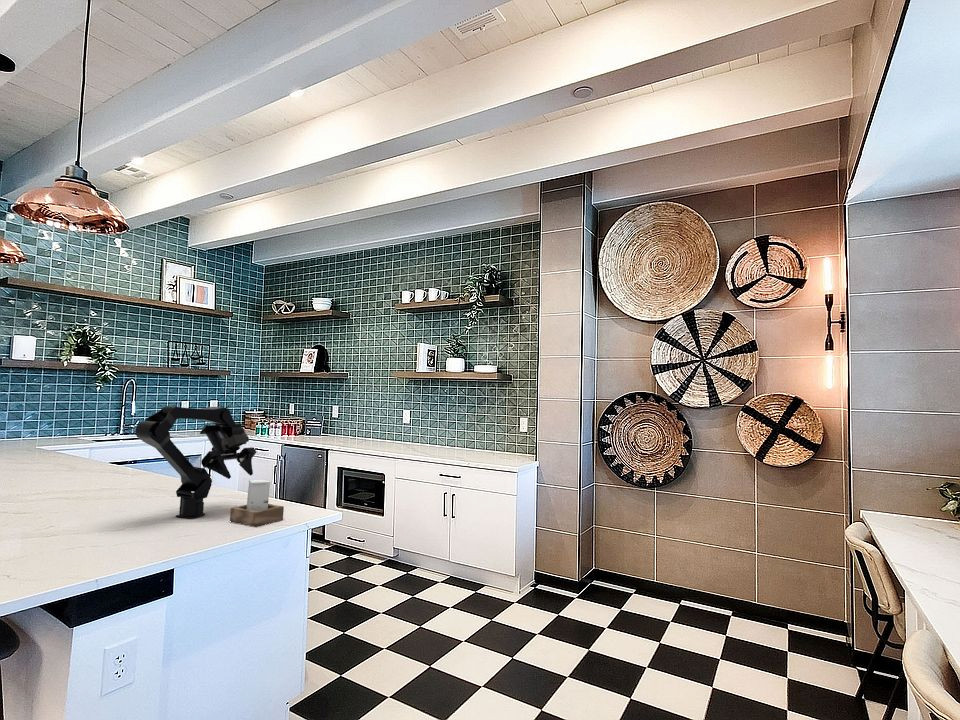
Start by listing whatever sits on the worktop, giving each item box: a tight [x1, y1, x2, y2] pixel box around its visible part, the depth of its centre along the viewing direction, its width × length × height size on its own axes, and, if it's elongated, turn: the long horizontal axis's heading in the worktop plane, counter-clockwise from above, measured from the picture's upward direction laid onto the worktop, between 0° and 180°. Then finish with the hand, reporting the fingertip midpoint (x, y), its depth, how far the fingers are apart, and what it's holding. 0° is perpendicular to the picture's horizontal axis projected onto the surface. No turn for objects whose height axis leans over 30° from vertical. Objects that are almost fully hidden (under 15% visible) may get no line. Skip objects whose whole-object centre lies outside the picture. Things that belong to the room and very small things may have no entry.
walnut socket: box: [229, 503, 285, 528], centre depth 179 cm, size 12×12×4 cm
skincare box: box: [246, 479, 271, 511], centre depth 179 cm, size 6×4×12 cm
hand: (241, 476), depth 183 cm, fingers open, 9 cm apart
